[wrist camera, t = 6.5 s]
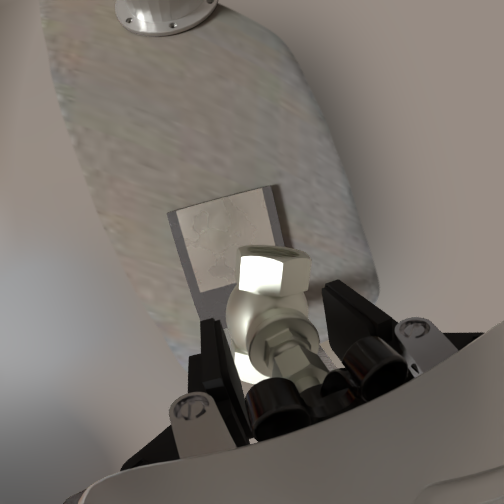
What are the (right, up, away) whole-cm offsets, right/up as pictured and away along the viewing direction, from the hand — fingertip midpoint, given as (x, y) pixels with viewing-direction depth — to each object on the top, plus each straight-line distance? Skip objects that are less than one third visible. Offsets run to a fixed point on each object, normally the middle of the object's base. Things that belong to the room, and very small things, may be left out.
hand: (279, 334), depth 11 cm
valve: (-1, +1, +6) cm, 6 cm away
